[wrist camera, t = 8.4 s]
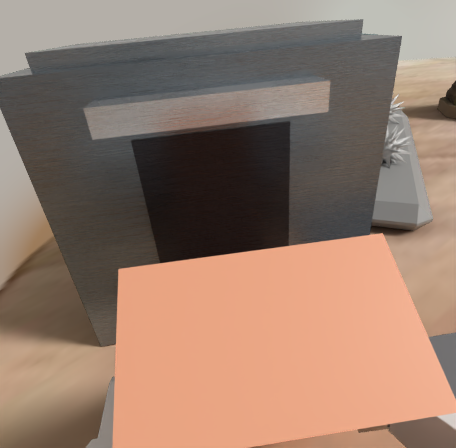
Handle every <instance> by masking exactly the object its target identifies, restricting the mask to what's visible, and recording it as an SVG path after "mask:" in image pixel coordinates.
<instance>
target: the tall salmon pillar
mask: <svg viewBox="0 0 456 448" xmlns="http://www.w3.org/2000/svg"><path fill="white" fill-rule="evenodd" d="M452 413H456V399H455V397H454V394H453V392H452V390H451V388H450V385H449V383H448V381H447V378H446V376H445V374H444V372H443V369H442V367H441V365H440V363H439V360H438V358H437V356H436V353H435V351H434V349H433V347H432V344H431V342H430V340H429V337H428V335H427V333H426V331H425V328H424V326H423V324H422V322H421V319H420V317H419V315H418V312H417V310H416V308H415V306H414V303H413V301H412V299H411V297H410V294H409V292H408V290H407V287H406V285H405V283H404V281H403V278H402V276H401V274H400V271H399V269H398V267H397V265H396V262H395V260H394V258H393V256H392V253H391V251H390V249H389V246H388V244H387V242H386V240H385V237H384V235H383V233H381V234H373V235H366V236H359V237H351V238H344V239H337V240H329V241H322V242H314V243H307V244H300V245H292V246H285V247H277V248H270V249H263V250H255V251H248V252H240V253H233V254H226V255H218V256H211V257H203V258H196V259H189V260H181V261H174V262H167V263H159V264H152V265H144V266H137V267H130V268H122V269H118V298H117V328H116V357H115V386H114V416H113V445H112V448H249V447H255V446H261V445H267V444H273V443H279V442H285V441H291V440H297V439H303V438H309V437H315V436H321V435H327V434H333V433H339V432H345V431H351V430H357V429H363V428H369V427H375V426H381V425H387V424H393V423H399V422H405V421H411V420H417V419H423V418H429V417H435V416H440V415H446V414H452Z"/></svg>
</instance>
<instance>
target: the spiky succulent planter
mask: <svg viewBox="0 0 456 448" xmlns="http://www.w3.org/2000/svg"><path fill="white" fill-rule="evenodd" d="M398 95H399V94H398ZM398 95H397V96H396V97H395V98H394V99H393V98H392V99H393V100H392V101H391V107H390V113H389V119H388V125H387V131H386V138H385V144H384V150H383V156H382V162H381V168H380V174H379V180H378V187H377V193H376V199H375V205H374V211H373V217H372V223H371V226H377V227H386V228H395V229H404V230H412V231H413V230H416V229H418V228H420V227H422V226H424V225H426V224H428V223H430V222H432V220H433V216H432V212H431V208H430V204H429V200H428V196H427V192H426V188H425V184H424V180H423V176H422V172H421V168H420V164H419V160H418V156H417V152H416V148H415V144H414V140H413V136H412V132H411V128H410V124H409V120H408V117H407V116H406V115H405V114H404V113H403V112H402V111H401V109H403V107H401V108H397V107H399V106H398V105H400V104H401V103H403V102H401V103H398V104H395V105H392V104H393V103H394V101H395V100H396V98H397V97H398ZM404 108H405V107H404Z"/></svg>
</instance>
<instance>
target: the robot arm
mask: <svg viewBox="0 0 456 448" xmlns="http://www.w3.org/2000/svg"><path fill="white" fill-rule="evenodd" d="M114 386H115V377H112V379H111V381H110V383H109V387H108V392H107V397H106V401H105V406H104V411H103V415H102V420H101V425H100V429H99V434H98V438H95V439H92V440H91V441H90V442H89V444H88V445H87V446H86V448H112V445H113V416H114ZM384 429H389V430H388V431H389V432H390V433H391V434H393V435H394V436H395V437H396V438H397V439H398V440H399V441H400V442H401V443H402V444H403V445H404V446H405V447H406V448H456V413H452V414H446V415H440V416H435V417H429V418H423V419H417V420H411V421H405V422H399V423H393V424H387V425H381V426H375V427H369V428H363V429H357V430H358V432H359V433H361V432H369V431H376V430H384Z"/></svg>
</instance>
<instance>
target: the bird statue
mask: <svg viewBox="0 0 456 448" xmlns="http://www.w3.org/2000/svg"><path fill="white" fill-rule="evenodd" d="M438 110H439V111H440V112H441V113H442V114H444V115H445V116H446V117H449V118H455V119H456V81H455V82H454V83H453V84H452V86H451V88H450V89H449V90H448V91H447V93H446V97H442V98H440V100H439V105H438Z"/></svg>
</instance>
